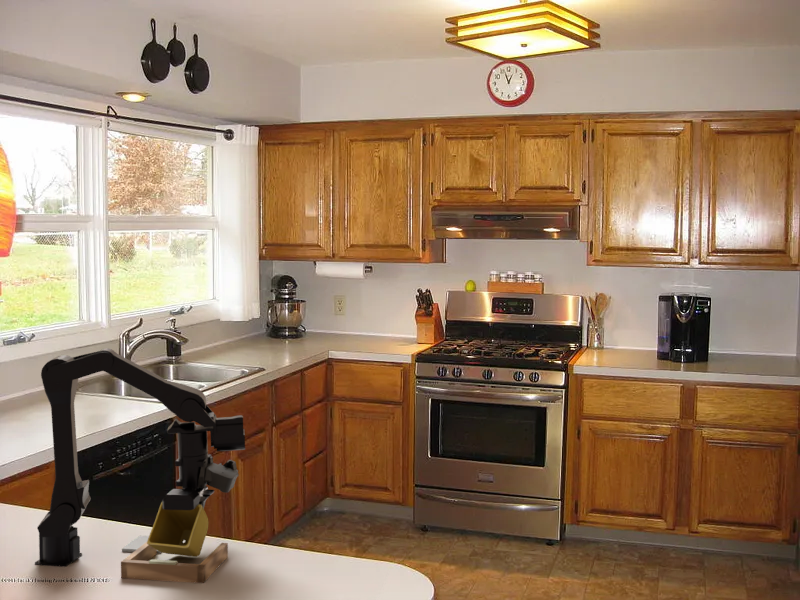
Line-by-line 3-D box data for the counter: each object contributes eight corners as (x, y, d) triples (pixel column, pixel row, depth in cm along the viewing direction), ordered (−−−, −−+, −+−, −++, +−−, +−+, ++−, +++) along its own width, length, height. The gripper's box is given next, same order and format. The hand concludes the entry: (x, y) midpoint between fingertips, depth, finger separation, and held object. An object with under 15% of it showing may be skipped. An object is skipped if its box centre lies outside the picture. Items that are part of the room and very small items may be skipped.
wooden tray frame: (151, 553, 167) (150, 536, 167) (227, 558, 165) (227, 541, 165) (121, 577, 155) (120, 559, 155) (203, 583, 153) (203, 565, 152)
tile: (121, 551, 168) (121, 547, 168) (139, 538, 176) (139, 534, 176) (160, 553, 167) (160, 550, 167) (176, 540, 175) (176, 536, 175)
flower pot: (205, 567, 163) (187, 548, 157) (164, 562, 166) (145, 543, 159) (218, 524, 169) (202, 504, 162) (179, 520, 171) (161, 500, 164)
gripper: (216, 468, 157) (219, 548, 159) (246, 440, 176) (249, 513, 177) (159, 467, 159) (163, 546, 160) (195, 439, 177) (198, 511, 179)
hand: (196, 528), depth 169 cm, fingers closed, pressing on flower pot
